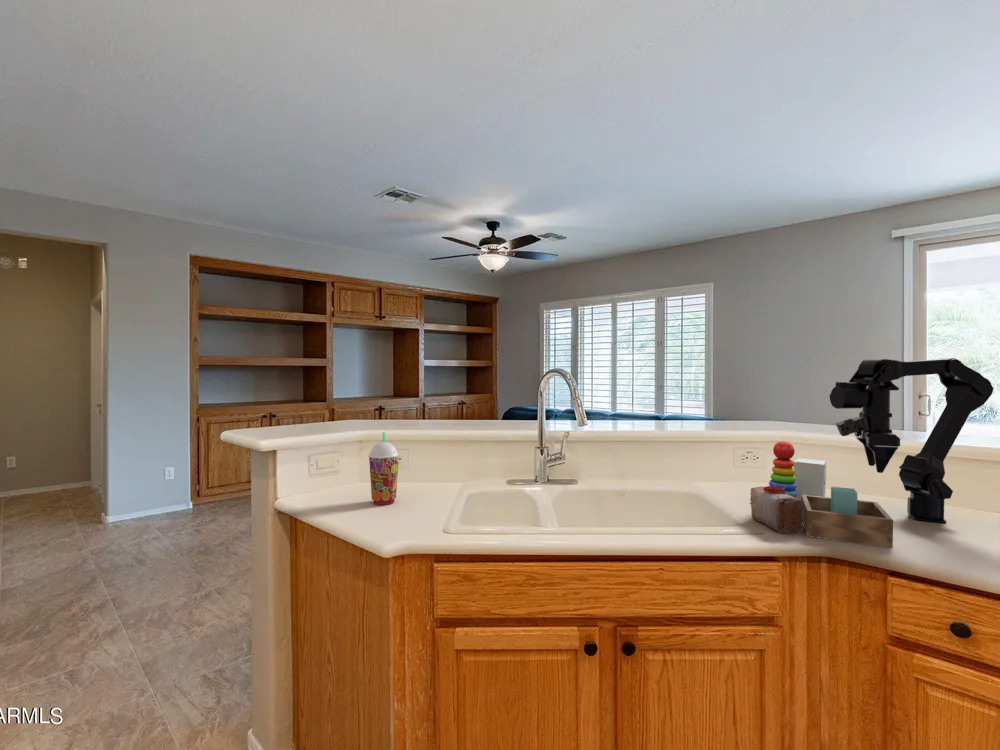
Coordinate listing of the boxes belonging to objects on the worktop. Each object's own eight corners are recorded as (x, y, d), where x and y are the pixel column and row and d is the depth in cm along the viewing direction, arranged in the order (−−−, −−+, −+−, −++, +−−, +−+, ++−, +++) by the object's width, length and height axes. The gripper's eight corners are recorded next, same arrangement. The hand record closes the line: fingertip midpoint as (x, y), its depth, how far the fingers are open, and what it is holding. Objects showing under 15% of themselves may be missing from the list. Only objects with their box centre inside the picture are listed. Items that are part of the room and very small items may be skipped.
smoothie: (362, 504, 143) (362, 433, 143) (380, 497, 151) (380, 429, 151) (387, 508, 140) (387, 435, 140) (404, 500, 148) (404, 431, 148)
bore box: (876, 526, 126) (877, 502, 125) (892, 547, 111) (893, 520, 111) (801, 517, 133) (801, 494, 133) (806, 536, 118) (807, 510, 118)
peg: (853, 530, 123) (853, 488, 123) (856, 536, 119) (857, 493, 119) (830, 527, 125) (831, 486, 125) (833, 533, 121) (833, 490, 121)
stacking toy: (759, 507, 142) (760, 440, 141) (779, 504, 145) (780, 438, 145) (785, 515, 135) (786, 444, 134) (805, 512, 138) (807, 442, 137)
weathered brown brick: (745, 517, 133) (745, 479, 133) (775, 516, 134) (775, 479, 134) (775, 534, 120) (776, 492, 120) (809, 534, 120) (809, 492, 120)
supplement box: (823, 511, 139) (824, 464, 138) (792, 506, 143) (792, 461, 143) (826, 505, 145) (826, 460, 144) (795, 501, 149) (796, 457, 149)
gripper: (832, 404, 143) (832, 460, 144) (844, 410, 126) (844, 473, 127) (881, 405, 138) (881, 463, 139) (901, 411, 122) (900, 477, 122)
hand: (875, 469), depth 132 cm, fingers open, 9 cm apart
